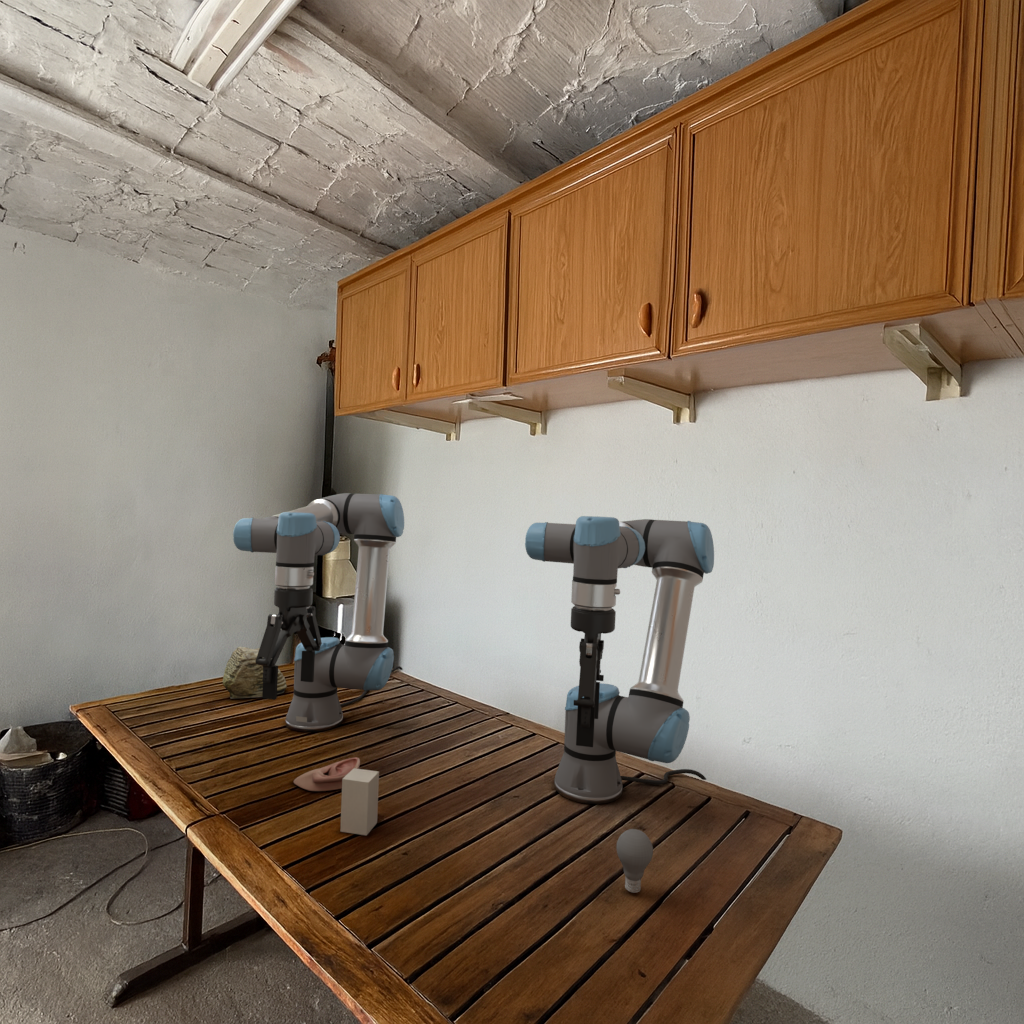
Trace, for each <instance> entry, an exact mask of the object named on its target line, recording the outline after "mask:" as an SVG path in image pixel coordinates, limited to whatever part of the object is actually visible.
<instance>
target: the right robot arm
mask: <svg viewBox="0 0 1024 1024" xmlns="http://www.w3.org/2000/svg"><path fill="white" fill-rule="evenodd" d="M524 541H525V543H524V547H525V551H526V554H527V556H528V557H529V558H530V559H531V560H535V561H540V562H541V561H542V562H545V563H546V562H550V563H563V564H573V572H572V573H573V574H572V575H573V576H572V580H571V600H570V601H571V603H572V605H573V606H572V607H571V608H570V627H571V629H572V630H574V631H575V632H579V633H581V632H582V633H584V637H583V638H580V641H579V645H578V646H579V647H578V648H579V649H578V651H579V659H578V660H579V661H578V663H579V667H580V668H579V681H578V685H576V686H574V687H571V689H569V691H568V692H567V694H566V702H565V707H564V710H565V714H564V737H563V739H564V740H563V741H564V742H563V743H564V745H563V753H562V756H561V759H560V761H559V764H558V766H557V770H556V772H555V776H554V783H553V784H554V785H553V787H554V789H555V791H556V792H557V793H558V794H559V795H560V796H561V797H564V798H566V799H568V800H571V801H574V802H577V803H581V804H587V805H601V804H608V803H612V802H615V801H616V800H617V801H618V799H620V797H621V796H622V794H623V781H627V782H633V783H639V784H648V785H654V786H661V785H662V786H663V785H665V784H667V783H668V781H669V777H670V776H675V775H680V774H681V775H682V774H690V775H694V776H696V777H698V778H699V779H700V780H703V781H706V780H707V778H706V776H705V775H704V774H703V773H701V772H700V771H698V770H694V769H690V768H681V769H673V770H669V771H666V772H665V773H664V774H663V779H658V780H657V779H656V780H655V779H649V778H648V779H647V778H640V777H635V776H627V775H621V772H620V769H619V765H618V761H617V756H616V755H617V752H618V753H623V754H625V755H629V756H633V757H638V758H640V759H644V760H648V761H650V762H657V763H663V764H671V763H673V762H675V761H676V760H677V759H678V758H679V756H680V755H681V753H682V751H683V750H684V749H683V748H684V747H685V745H686V741H687V738H688V734H689V729H690V720H691V719H690V717H691V716H690V712H689V711H688V710H687V709H686V708H685V707H684V702H685V701H684V699H683V697H682V696H681V695H680V693H679V685H680V680H681V674H682V667H683V661H684V655H685V648H686V643H687V637H688V630H689V626H690V625H689V624H690V618H691V611H692V607H693V606H692V605H693V599H694V598H693V597H694V593H695V588H696V587H697V586H699V585H701V584H702V583H703V579H704V575H708V574H710V573H712V572H713V569H714V565H715V547H714V539H713V534H712V532H711V529H710V527H709V525H707V524H706V523H704V522H696V521H691V520H687V521H686V520H669V519H668V520H666V519H651V518H650V519H649V518H644V519H631V520H624V521H619V519H618V518H617V517H613V516H593V515H590V516H589V515H581V516H579V517H577V518H576V521H575V523H560V522H559V523H558V522H548V521H545V522H534V523H532V524H531V525H529V527H528V528H527V530H526V534H525V540H524ZM633 566H638V567H643V568H651V575H652V576H653V577H654V579H656V583H655V589H654V593H653V600H652V605H651V610H650V615H649V620H648V627H647V633H646V637H645V644H644V649H643V654H642V660H641V665H640V671H639V676H638V681H637V683H636V684H634V685H632V686H631V687H630V688H629V691H628V696H623V695H620V693H621V692H620V689H619V688H618V686H616V685H615V684H612V683H611V684H610V683H601V682H604V680H605V679H604V678H605V677H604V676H605V675H604V674H601V673H602V670H601V662H602V661H601V660H602V659H603V653H604V648H605V647H604V646H605V640H604V639H602V634H610V633H612V632H614V631H615V629H616V617H617V615H616V613H617V611H616V610H615V609H614V607H615V606H616V605H617V596H619V595H620V594H621V590H620V588H617V583H618V571H619V569H628V568H630V567H633Z"/></svg>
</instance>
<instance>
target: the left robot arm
mask: <svg viewBox="0 0 1024 1024" xmlns="http://www.w3.org/2000/svg"><path fill="white" fill-rule="evenodd" d="M404 514H405V513H404V509H403V505H402V502H401V500H400V499H399V498H398V497H397V496H395V495H389V494H383V493H380V494H379V493H354V492H353V493H352V492H343V493H337V494H333V495H328V496H325V497H321V498H317V499H314V500H312V501H310V502H309V503H308V504H307V506H306V505H305V506H302V507H299V508H296V509H292V510H288V511H283V512H281V513H278V514H274V515H271V516H270V515H269V516H266V517H261V518H257V517H256V518H254V517H244V518H240V519H239V520H238V521H237V522H236V523H235V525H234V528H233V532H232V536H233V538H232V541H233V544H234V546H235V547H236V548H237V549H238V550H239V551H241V552H250V553H268V554H269V553H270V554H276V558H275V559H276V560H275V571H274V585H275V586H277V587H275V588H274V590H273V591H274V592H273V593H274V595H273V605H274V606H275V607H277V608H278V612H277V614H276V613H275V614H274V613H269V614H268V615H267V622H266V627H265V630H264V633H263V636H262V640H261V643H260V646H259V648H260V649H259V652H258V655H257V658H256V664H258V665H262V666H263V692H262V697H261V699H266V700H273V701H274V700H277V699H278V694H277V682H278V669H279V665H277V662H278V660H279V657H280V655H281V653H282V651H283V649H284V647H285V645H286V643H287V640H288V638H291V636H292V634H294V633H296V635H297V637H298V639H299V641H300V642H299V643H298V644H297V645H296V647H295V652H294V653H295V654H294V659H293V661H294V670H293V671H294V672H293V695H292V696H293V697H292V699H291V702H290V704H289V708H288V711H287V713H286V715H285V726H286V728H287V729H289V730H291V731H294V732H295V731H296V732H301V733H316V732H325V731H329V730H332V729H335V728H337V727H339V726H340V725H342V723H343V722H344V714H343V709H342V707H346V706H348V705H351V704H354V703H356V702H359V701H360V700H362V699H363V698H364V696H366V694H367V693H368V692H369V691H380V690H382V689H383V688H384V687H385V686H386V685H387V684H388V681H389V679H390V677H391V675H392V673H393V672H395V671H397V670H399V671H403V670H404V669H403V667H402V666H400V665H398V666H395V667H393V666H394V661H395V655H394V654H395V652H394V649H392V648H391V647H389V646H388V645H389V639H387V637H386V636H385V635H384V626H385V613H386V601H387V587H388V577H389V564H390V563H389V562H390V552H391V551H390V550H391V548H392V547H394V545H396V543H397V538H400V537H402V535H403V534H404V529H405V515H404ZM340 534H344V535H353V536H354V537H353V541H354V543H355V544H356V545H357V547H358V553H357V562H356V563H357V564H356V566H357V567H356V574H355V575H356V577H355V585H354V586H355V588H354V598H353V599H354V600H353V611H352V623H351V633H350V634H349V635H348V636H347V637H346V638H345V640H344V644H341V641H340V639H339V638H338V637H334V636H325V637H321V634H320V629H319V625H318V621H317V616H316V606H313V598H314V597H313V595H314V589H313V587H311V586H313V585H314V576H315V572H314V570H315V569H314V567H315V556H325V555H327V554H331V553H332V552H334V551H335V550H336V549H337V548H338V546H339V544H340V541H341V540H340V539H341V536H340ZM271 659H272V660H271ZM338 689H350V690H360V691H361V690H362V691H363V692H362V693H361V695H360V696H358V697H356V698H354V699H352V700H349V701H346V702H343V703H341V702H340V699H339V695H338Z"/></svg>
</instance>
